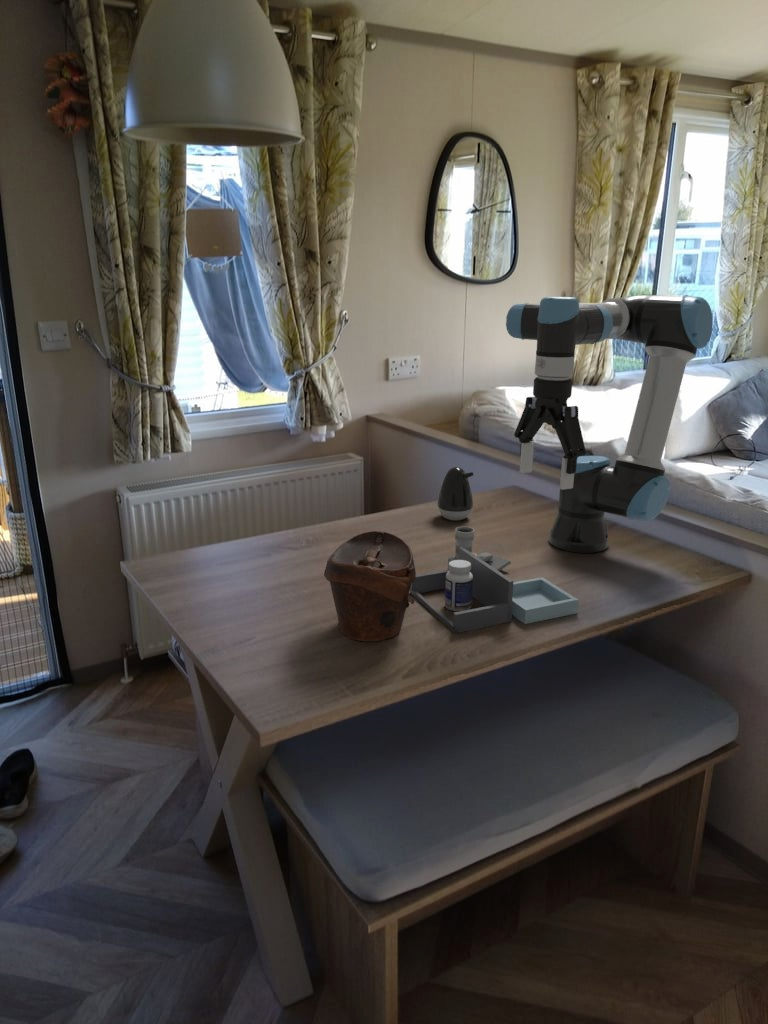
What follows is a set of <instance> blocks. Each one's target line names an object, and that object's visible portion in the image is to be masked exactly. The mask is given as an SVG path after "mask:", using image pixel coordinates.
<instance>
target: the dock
mask: <svg viewBox="0 0 768 1024" xmlns="http://www.w3.org/2000/svg"><path fill="white" fill-rule="evenodd" d="M458 560H465V561H468V562H470V563H471V570H470V572H471V574H472V575H473V588H472V598H474V599H476V600H477V601H478V602H480V604H482V605H484V606H482V607H476V608H470V609H469V610H465V611H460V612H457V611H453V613H452V620H451V619H449V618H448V617H447V616H446V615H445V614H443V613H442V612H441V610H439V609H438V608H436V606H434V605H433V604H432V603H431V602H430V601H428V600H427V598H426V597H424V596H423V595H422V594H423V593H427V592H434V591H438V590H444V589H445V588H446V574H447V573H448V572H449V571H450V570H448V569H445V570H438V571H433V572H427V573H422V574H420V573H419V574H416V578H415V581H414V582H413V583H412V582H411V587H410V591H409V594H410V595H412V596H413V598H414V599H416V600H417V601H418V602H419V603H421V604H422V605H423V606H424V607H425V608H426V609H427V610H428V611H429V612H431V613H432V614H433V615H434V616H435V618H437V619H438V620H440V621H441V622H442V624H444V625H445V626H446V627H448V629H450V630H451V631H452V632H453V633H455V634H456V633H462V632H466V631H472V630H473V631H474V630H477V629H481V628H486V627H492V626H497V625H501V624H506V623H510V622H512V598H513V582H515V581H514V580H513V579H511V578H510V577H508V576H506V575H505V574H504V573H503V572H501V571H498V570H496V569H495V568H493V567H492V566H490V565H489V564H487V563H486V562H484V561H483V560H481V559H480V558H478V557H477V556H475V555H474V554H472V553H471V552H469V551H468V550H466V549H465V548H463V547H459V553H458Z"/></svg>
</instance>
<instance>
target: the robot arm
mask: <svg viewBox="0 0 768 1024" xmlns="http://www.w3.org/2000/svg"><path fill="white" fill-rule="evenodd" d="M505 319H506V321H505V328H506V331H507V333H508V334H509V335H510V336H511V337H512V338H513V339H514V338H515V339H521V340H529V341H530V340H531V341H536V350H535V351H536V352H535V354H536V355H535V365H534V374H535V376H537V377H535V378H534V379H533V387H532V389H533V390H532V395H533V396H527V397H526V399H525V404H524V408H523V411H522V413H521V416H520V418H519V421H518V424H517V426H516V429H515V431H514V434H513V436H514V437H515V438H517V439H518V440H519V443H520V446H519V447H520V448H519V456H520V461H519V473H520V474H528V473H533V464H534V463H533V462H534V461H533V460H534V448H535V447H534V446H535V442H534V441H535V440H534V437H535V436H536V435H537V433H538V432H539V430H540V429H541V427H542V426H543V425H544V424H546V425H549V426H551V427H552V429H553V430H555V432H556V435H557V437H558V439H559V443H560V445H561V447H562V450H563V453H564V455H563V456H562V459H561V470H560V471H561V472H560V476H559V477H560V479H559V480H560V483H559V496H558V497H559V498H558V513H557V515H556V518H555V520H554V523H553V525H552V527H551V529H550V531H549V536H548V537H549V539H548V542H549V544H550V545H552V546H553V547H554V548H557V549H560V550H562V551H567V552H570V553H571V552H572V553H580V554H584V553H585V554H592V553H600V552H602V551H605V550H607V549H608V547H609V541H610V540H609V539H610V537H609V534H608V529H607V524H606V521H605V513H607V514H610V515H614V516H618V517H622V518H626V519H627V520H632V521H638V522H639V521H640V522H644V523H645V522H650V521H653V520H654V519H655V518H656V517H658V515H660V513H661V512H662V511H663V509H664V507H665V505H666V504H667V501H668V500H669V497H670V496H669V495H670V494H671V488H670V486H671V482H670V480H669V479H668V477H666V476H665V473H666V468H665V467H664V465H663V463H662V458H663V454H664V450H665V447H666V442H667V439H668V434H669V430H670V428H671V424H672V419H673V415H674V413H675V409H676V404H677V400H678V397H679V393H680V388H681V385H682V381H683V378H684V374H685V369H686V366H687V364H688V363H689V362H690V361H692V360H693V359H695V358H696V354H697V351H698V350H699V349H703V348H706V346H707V345H708V343H709V342H710V340H711V337H712V333H713V327H714V326H713V325H714V324H713V323H714V321H713V320H714V319H713V313H712V309H711V305H710V304H709V302H708V301H707V300H706V298H703V297H701V296H693V295H692V296H691V295H688V294H684V295H682V294H681V295H679V294H678V295H677V294H676V295H673V294H672V295H669V294H668V295H667V294H666V295H665V294H639V295H631V296H625V297H615V298H614V297H613V298H606V299H605V300H603V301H602V302H580V301H579V298H577V297H575V296H544V297H543V298H541V299H540V303H528V302H524V303H516V304H513V305H512V306H511V307H510V308H509V309H508V311H507V315H506V318H505ZM608 339H609V340H621V341H627V342H631V343H638V344H645V346H644V351H645V352H646V354H647V355H648V361H647V364H646V369H645V374H644V377H643V381H642V384H641V388H640V392H639V396H638V400H637V404H636V407H635V411H634V415H633V420H632V423H631V428H630V431H629V435H628V438H627V439H628V440H627V443H626V447H625V451H624V454H622V455H621V456H619V457H617V458H616V459H615V464H614V466H613V465H610V464H611V460H610V458H609V457H607V456H602V455H587V453H586V447H585V442H584V438H583V437H584V436H583V433H582V429H581V425H580V424H581V423H580V420H579V407H578V406H577V405H572V406H568V402H567V401H568V400H569V398H571V396H572V391H573V390H572V388H573V380H572V379H571V377H573V376H574V373H575V372H574V370H575V369H574V368H575V357H576V356H575V355H576V346H577V345H595V344H597V343H602V342H603V341H605V340H608Z"/></svg>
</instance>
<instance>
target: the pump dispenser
mask: <svg viewBox="0 0 768 1024" xmlns="http://www.w3.org/2000/svg"><path fill="white" fill-rule="evenodd" d="M473 476H474V472H473V471H471V472H466V471H465V469H464V468H462V467H460V466H453V467H451V468H449V469H448V470H447V472H446V473H445V475H444V477H443V479H442V482H441V483H440V488H439V491H438V497H437V505H436V506H437V507H438V511H439V514H440V515H441V516H442V517H443V518H444V519H447V520H449V521H456V522H457V521H462V520H465V519H466V518H468V516H470V514H471V512H472V509H473V507H474V499H473V491H472V486H471V483H470V480H469V478H470V477H473Z"/></svg>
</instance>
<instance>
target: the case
mask: <svg viewBox="0 0 768 1024" xmlns="http://www.w3.org/2000/svg"><path fill="white" fill-rule="evenodd" d="M413 555H414V554H413V552H412V548H411V547H410V546H409V545H408V544H407V543H406V541H404V540H403V539H402V538H400V537H399V536H397V535H395V534H393V533H390V532H386V531H381V530H380V531H379V530H378V531H377V530H375V531H374V530H371V531H367V532H362V533H360V534H357V535H355V536H353V537H352V538H350V539H348V540H346V541H345V542H344V543H342V544H341V545H340V546H339V547H337V549H336V550H335V551H334V552H332V554H331V555H330V557H329V558H328V559H327V560H326V561H327V562H326V566H325V569H324V574H323V576H324V578H325V579H326V580H327V581H328V582H329V583H330V589H331V593H332V599H333V603H334V608H335V611H336V616H337V622H338V624H337V625H338V627H339V630H340V632H341V633H342V634H343V635H344V636H346V637H348V638H349V639H352V640H354V641H357V642H366V643H368V642H371V643H373V642H381V641H385V640H388V639H390V638H392V637H394V636H396V635H397V634H398V633H399V632H400V631H401V628H403V623H404V617H405V614H406V611H407V608H408V609H409V607H410V604H411V605H414V603H415V597H412V596H411V595H409V594H410V587H411V582H412V583H413V582H414V581H415V578H416V575H417V572H416V566H415V560H414V556H413Z"/></svg>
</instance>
